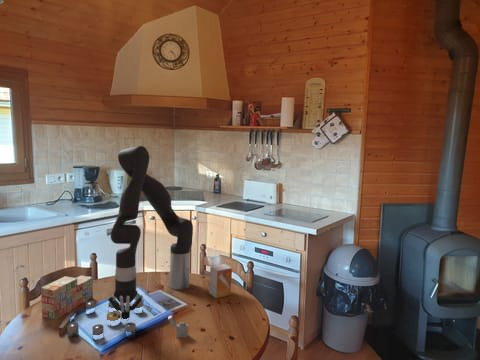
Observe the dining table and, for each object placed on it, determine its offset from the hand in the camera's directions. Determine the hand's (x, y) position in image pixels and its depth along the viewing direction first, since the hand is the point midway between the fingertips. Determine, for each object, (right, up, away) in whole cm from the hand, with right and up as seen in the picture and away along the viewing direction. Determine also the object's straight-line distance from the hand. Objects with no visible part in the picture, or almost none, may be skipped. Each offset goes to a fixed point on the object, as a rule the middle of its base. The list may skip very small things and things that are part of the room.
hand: (125, 319), depth 142 cm
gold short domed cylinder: (-4, -1, 0) cm, 5 cm away
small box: (+35, +1, +29) cm, 45 cm away
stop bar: (-21, -1, -2) cm, 21 cm away
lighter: (+21, -3, -7) cm, 23 cm away
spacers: (-7, -1, -1) cm, 7 cm away
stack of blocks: (-27, +1, +11) cm, 29 cm away
